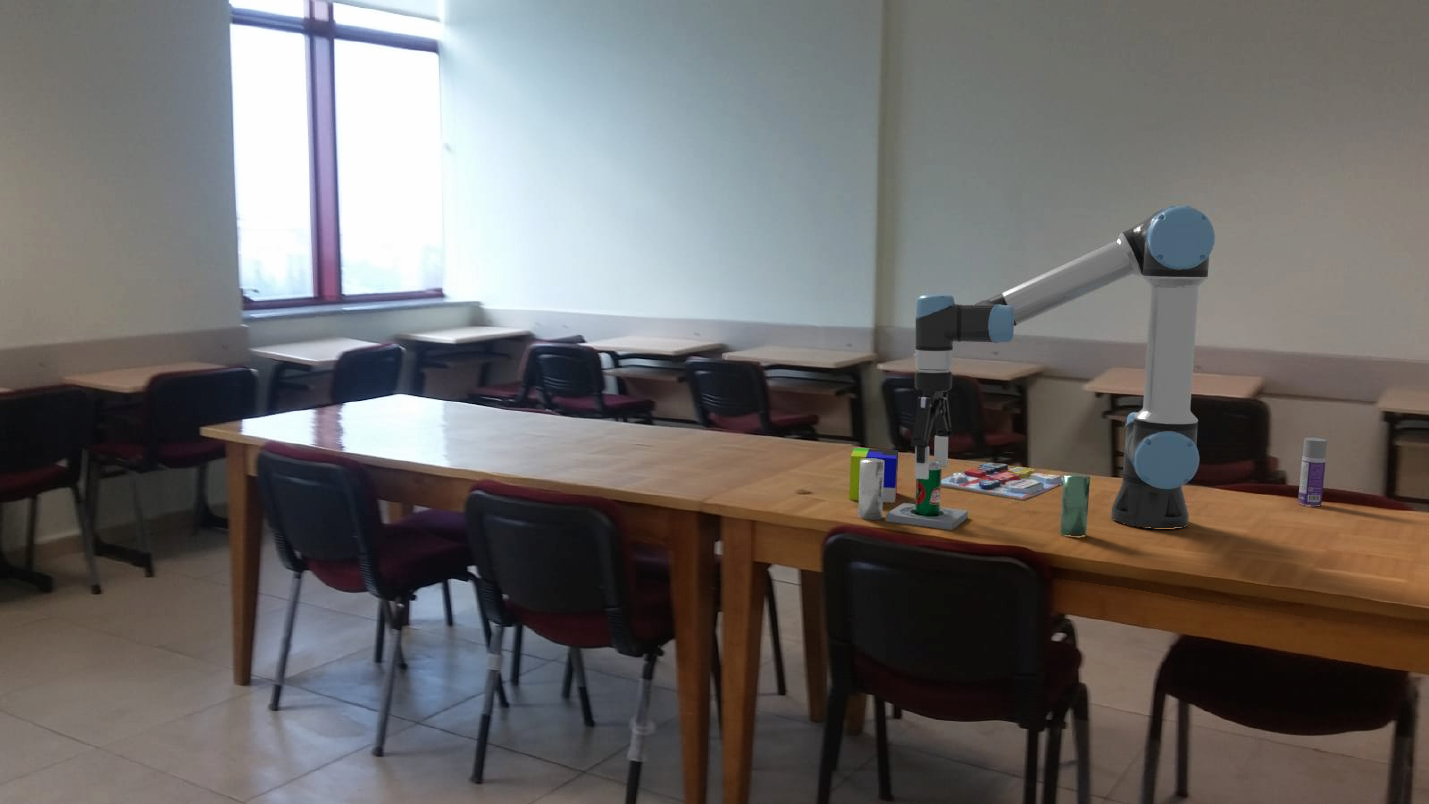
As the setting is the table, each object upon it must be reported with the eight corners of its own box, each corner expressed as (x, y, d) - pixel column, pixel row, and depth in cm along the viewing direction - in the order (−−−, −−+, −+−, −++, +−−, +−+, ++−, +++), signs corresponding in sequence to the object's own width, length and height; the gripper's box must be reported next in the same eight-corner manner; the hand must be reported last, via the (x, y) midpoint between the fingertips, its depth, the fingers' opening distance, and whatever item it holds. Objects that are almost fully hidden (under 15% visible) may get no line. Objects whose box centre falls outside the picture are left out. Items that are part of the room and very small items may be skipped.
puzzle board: (1022, 503, 257) (1023, 492, 257) (931, 488, 271) (931, 477, 271) (1074, 482, 281) (1075, 471, 280) (987, 469, 295) (988, 459, 294)
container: (1323, 504, 258) (1330, 439, 256) (1317, 508, 255) (1323, 442, 252) (1301, 501, 261) (1307, 436, 259) (1295, 504, 258) (1301, 439, 256)
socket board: (967, 517, 240) (968, 510, 240) (951, 530, 229) (952, 522, 229) (903, 509, 246) (903, 502, 246) (885, 521, 236) (885, 514, 235)
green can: (1088, 533, 228) (1092, 475, 227) (1083, 539, 224) (1087, 479, 222) (1062, 530, 231) (1066, 472, 229) (1057, 536, 226) (1061, 476, 225)
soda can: (934, 523, 234) (936, 466, 233) (910, 520, 237) (913, 463, 235) (942, 518, 239) (945, 462, 237) (920, 515, 241) (922, 459, 240)
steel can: (885, 515, 240) (887, 459, 239) (877, 520, 236) (879, 463, 234) (862, 512, 243) (864, 457, 241) (854, 517, 238) (856, 461, 236)
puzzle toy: (894, 502, 253) (896, 458, 251) (849, 500, 255) (850, 455, 253) (896, 493, 263) (898, 450, 261) (852, 490, 265) (854, 448, 263)
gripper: (933, 363, 246) (931, 460, 249) (896, 375, 224) (894, 481, 227) (967, 365, 243) (965, 463, 246) (933, 377, 221) (931, 485, 224)
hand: (931, 472), depth 236 cm, fingers open, 13 cm apart
